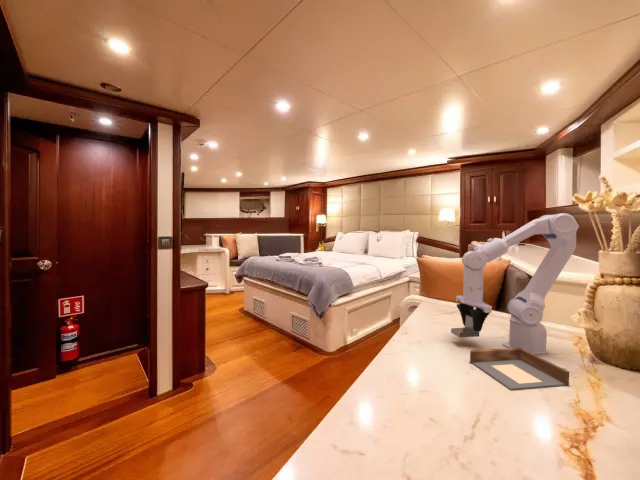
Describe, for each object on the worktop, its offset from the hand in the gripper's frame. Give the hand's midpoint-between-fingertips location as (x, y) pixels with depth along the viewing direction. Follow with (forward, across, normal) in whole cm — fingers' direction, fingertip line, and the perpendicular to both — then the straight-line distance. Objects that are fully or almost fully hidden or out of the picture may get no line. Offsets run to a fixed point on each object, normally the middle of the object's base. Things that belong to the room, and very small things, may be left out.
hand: (471, 328), depth 92 cm
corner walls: (+5, +19, -2) cm, 20 cm away
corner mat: (+5, +19, -2) cm, 20 cm away
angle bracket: (+2, 0, -2) cm, 3 cm away
